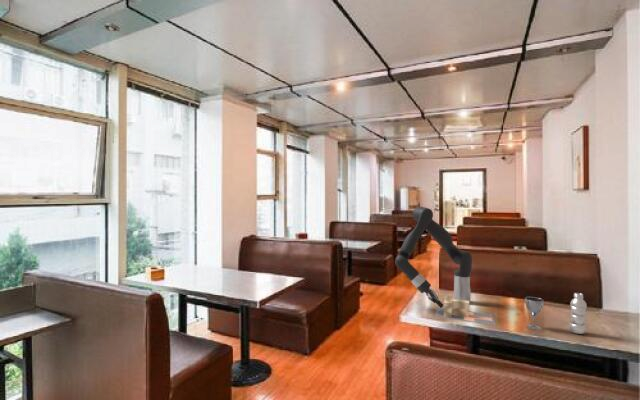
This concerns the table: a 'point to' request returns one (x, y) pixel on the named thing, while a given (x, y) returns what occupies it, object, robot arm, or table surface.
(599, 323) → the table surface
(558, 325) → the table surface
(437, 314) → the T board
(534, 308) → the wine glass
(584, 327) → the plastic bottle
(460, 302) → the maple T block
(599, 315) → the table surface
